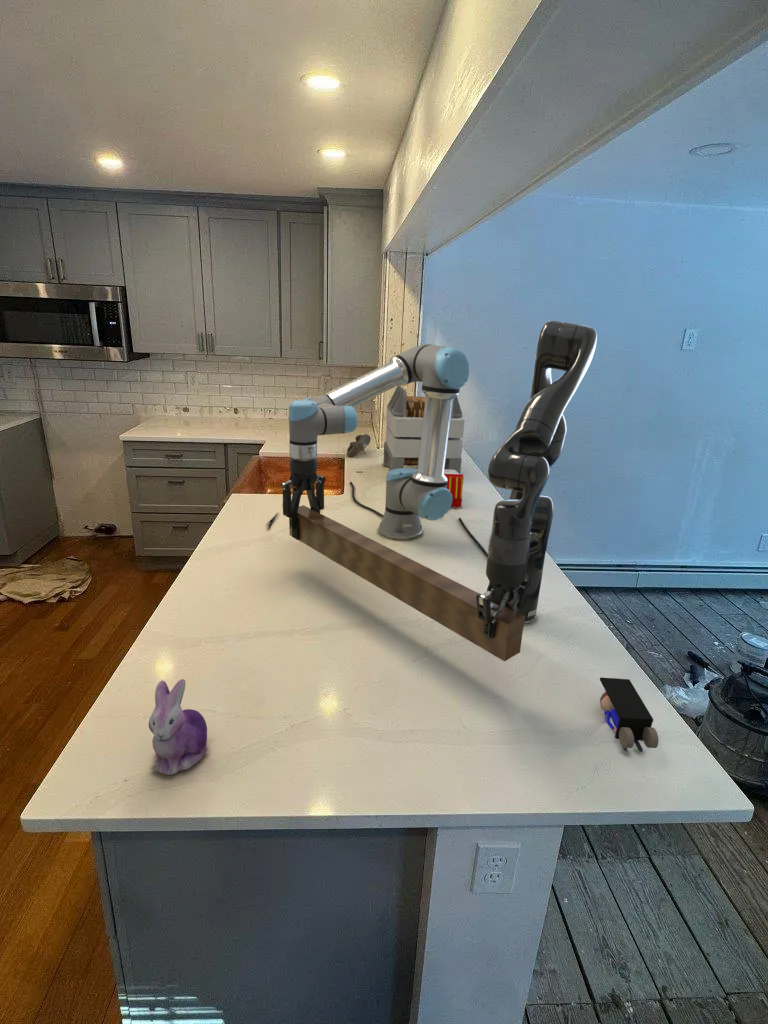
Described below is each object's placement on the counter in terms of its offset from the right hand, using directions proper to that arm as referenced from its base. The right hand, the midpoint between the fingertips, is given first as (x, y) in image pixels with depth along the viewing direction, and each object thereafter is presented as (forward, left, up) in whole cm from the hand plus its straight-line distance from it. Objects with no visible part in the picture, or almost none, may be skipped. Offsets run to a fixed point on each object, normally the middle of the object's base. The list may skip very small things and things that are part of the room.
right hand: (498, 631), depth 113 cm
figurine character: (+2, +26, -15) cm, 30 cm away
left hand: (-35, -61, -3) cm, 70 cm away
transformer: (-155, -60, -15) cm, 167 cm away
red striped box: (-125, -40, -15) cm, 132 cm away
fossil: (-177, -101, -15) cm, 204 cm away
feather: (-73, -92, -15) cm, 118 cm away
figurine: (+38, -47, -15) cm, 63 cm away
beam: (-18, -31, -4) cm, 35 cm away
